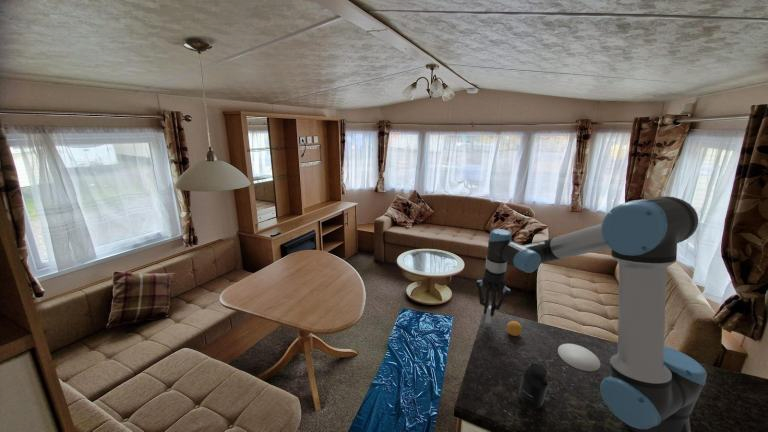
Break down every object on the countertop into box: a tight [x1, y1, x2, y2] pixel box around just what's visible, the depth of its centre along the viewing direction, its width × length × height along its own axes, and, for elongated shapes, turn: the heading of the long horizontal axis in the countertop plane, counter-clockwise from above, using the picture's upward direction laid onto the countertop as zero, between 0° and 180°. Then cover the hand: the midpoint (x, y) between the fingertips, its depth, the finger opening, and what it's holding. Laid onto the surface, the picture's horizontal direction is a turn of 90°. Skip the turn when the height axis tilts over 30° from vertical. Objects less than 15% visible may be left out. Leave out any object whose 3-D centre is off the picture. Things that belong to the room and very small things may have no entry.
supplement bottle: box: [518, 361, 549, 409], centre depth 92 cm, size 7×7×12 cm
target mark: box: [557, 343, 601, 372], centre depth 111 cm, size 13×13×1 cm
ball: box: [506, 320, 523, 337], centre depth 121 cm, size 6×6×6 cm
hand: (487, 321), depth 126 cm, fingers closed
